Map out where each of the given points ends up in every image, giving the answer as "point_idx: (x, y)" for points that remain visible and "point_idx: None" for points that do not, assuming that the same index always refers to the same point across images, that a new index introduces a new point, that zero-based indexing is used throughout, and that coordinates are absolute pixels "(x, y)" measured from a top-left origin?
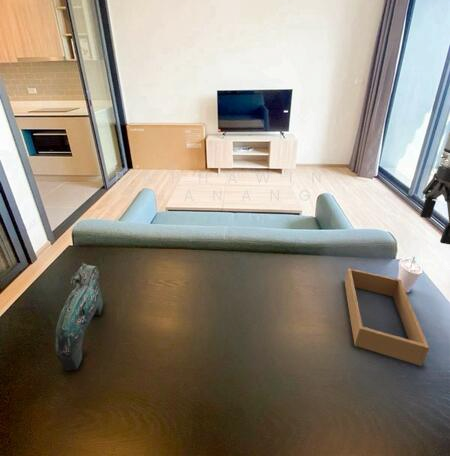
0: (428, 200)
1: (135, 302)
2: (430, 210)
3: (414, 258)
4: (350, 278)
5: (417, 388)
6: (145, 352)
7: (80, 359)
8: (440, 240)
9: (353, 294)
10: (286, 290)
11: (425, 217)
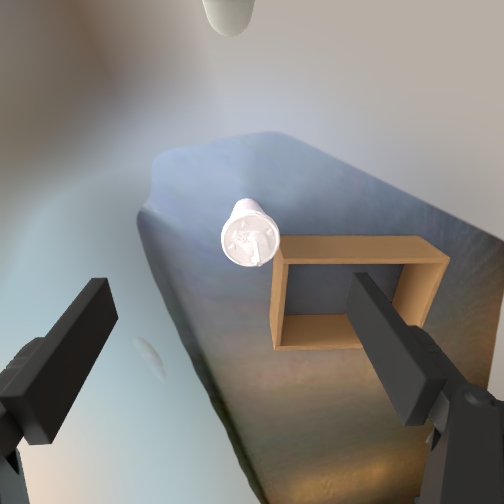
0: (43, 433)
1: (357, 495)
2: (83, 328)
3: (261, 261)
4: (305, 349)
5: (448, 251)
6: (408, 471)
7: (418, 499)
8: (349, 317)
9: (346, 348)
10: (309, 391)
11: (112, 300)
